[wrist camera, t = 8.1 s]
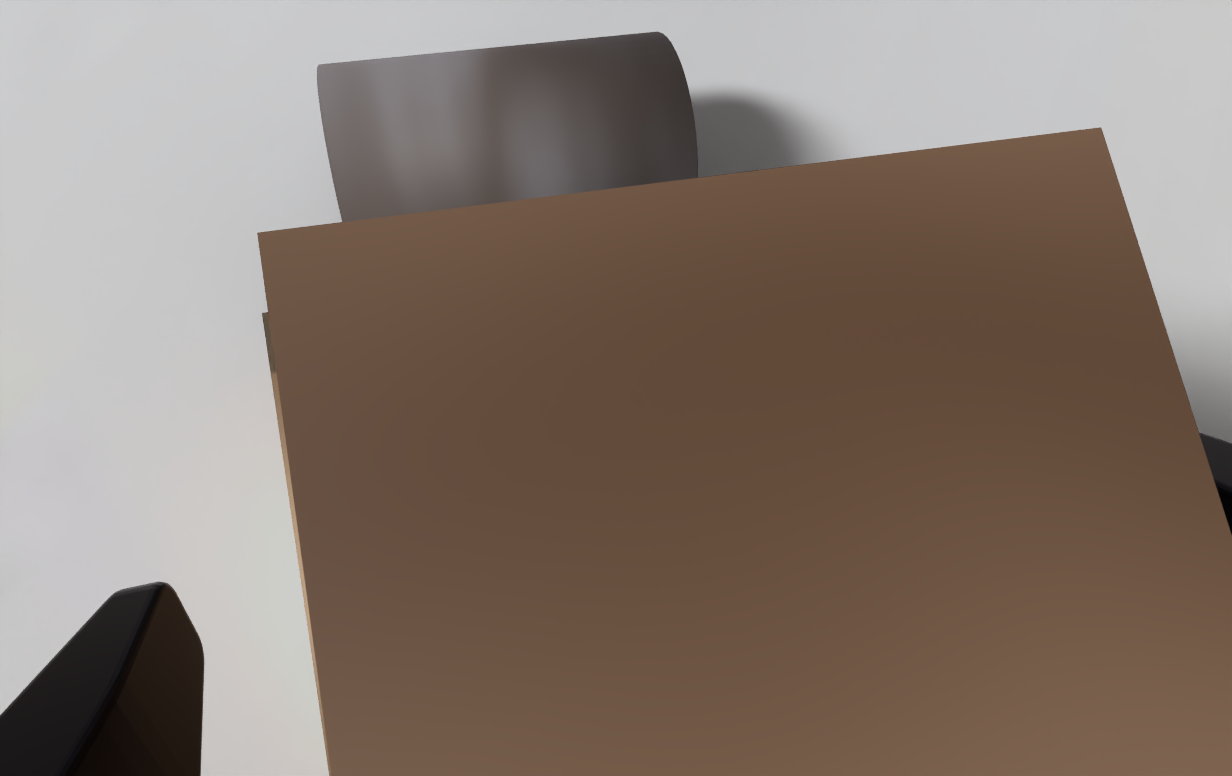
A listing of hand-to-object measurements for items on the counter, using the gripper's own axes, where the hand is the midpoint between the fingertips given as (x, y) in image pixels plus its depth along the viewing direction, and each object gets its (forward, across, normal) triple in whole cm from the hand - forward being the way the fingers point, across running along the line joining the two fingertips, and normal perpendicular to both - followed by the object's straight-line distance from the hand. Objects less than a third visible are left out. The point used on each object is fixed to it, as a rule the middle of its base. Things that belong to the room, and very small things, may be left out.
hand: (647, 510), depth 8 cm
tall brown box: (+5, 0, +6) cm, 8 cm away
